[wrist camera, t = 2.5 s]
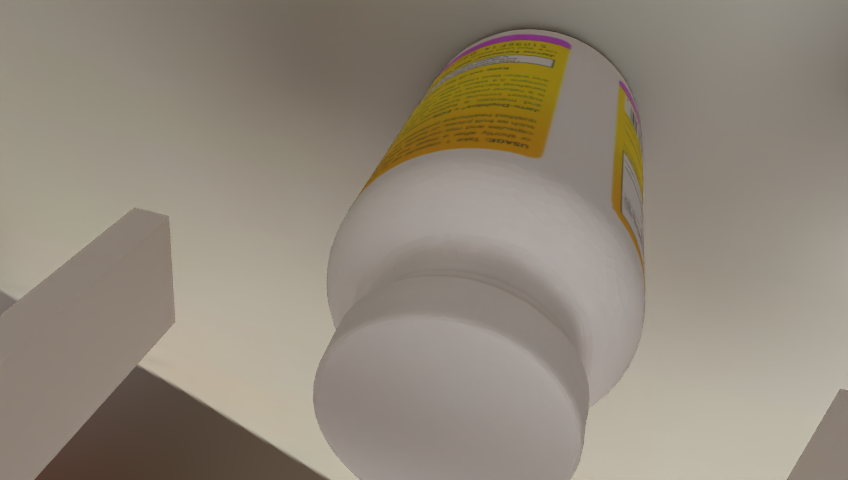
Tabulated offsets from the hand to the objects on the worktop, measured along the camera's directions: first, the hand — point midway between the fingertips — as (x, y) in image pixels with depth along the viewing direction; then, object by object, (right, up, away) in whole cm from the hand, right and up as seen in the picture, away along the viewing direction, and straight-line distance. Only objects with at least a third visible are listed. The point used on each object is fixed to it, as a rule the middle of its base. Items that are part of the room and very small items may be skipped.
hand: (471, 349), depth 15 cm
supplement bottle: (+2, +6, +9) cm, 11 cm away
